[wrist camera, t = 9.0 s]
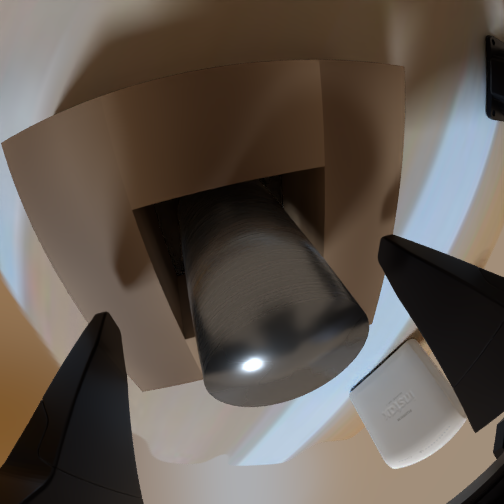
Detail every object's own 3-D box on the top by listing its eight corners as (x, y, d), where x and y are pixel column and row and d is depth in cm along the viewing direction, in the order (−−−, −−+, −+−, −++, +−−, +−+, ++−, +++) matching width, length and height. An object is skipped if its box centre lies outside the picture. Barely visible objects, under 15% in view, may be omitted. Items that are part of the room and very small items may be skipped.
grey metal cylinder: (263, 157, 12) (383, 275, 5) (271, 237, 14) (354, 374, 8) (168, 179, 11) (178, 337, 5) (190, 257, 13) (223, 419, 7)
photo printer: (408, 334, 25) (471, 425, 15) (421, 339, 28) (477, 418, 18) (341, 394, 29) (386, 481, 19) (360, 394, 31) (403, 471, 21)
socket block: (340, 62, 10) (404, 66, 7) (337, 277, 17) (371, 323, 14) (50, 119, 8) (1, 142, 5) (140, 331, 15) (142, 391, 12)
